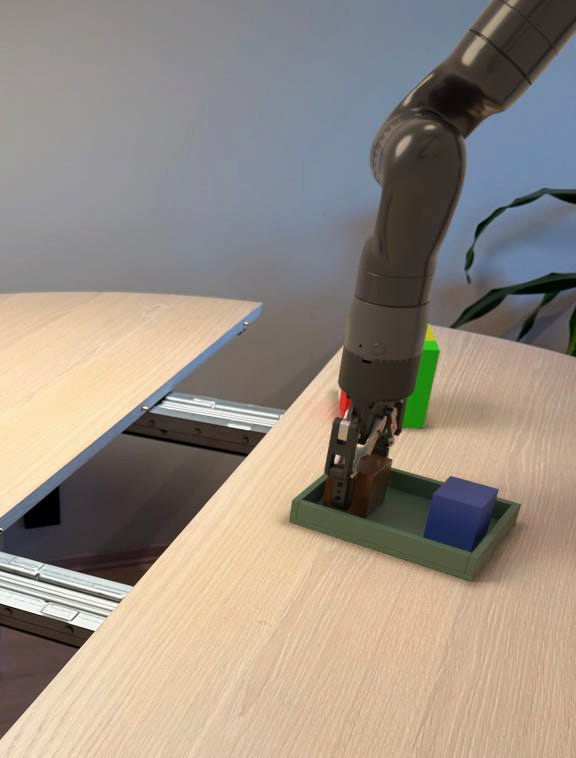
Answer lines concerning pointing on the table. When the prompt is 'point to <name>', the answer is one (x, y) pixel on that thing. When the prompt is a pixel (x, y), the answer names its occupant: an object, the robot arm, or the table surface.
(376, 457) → the brown cube
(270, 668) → the table surface
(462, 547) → the blue cube
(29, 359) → the table surface
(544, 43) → the robot arm
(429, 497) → the tray
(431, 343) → the puzzle toy
